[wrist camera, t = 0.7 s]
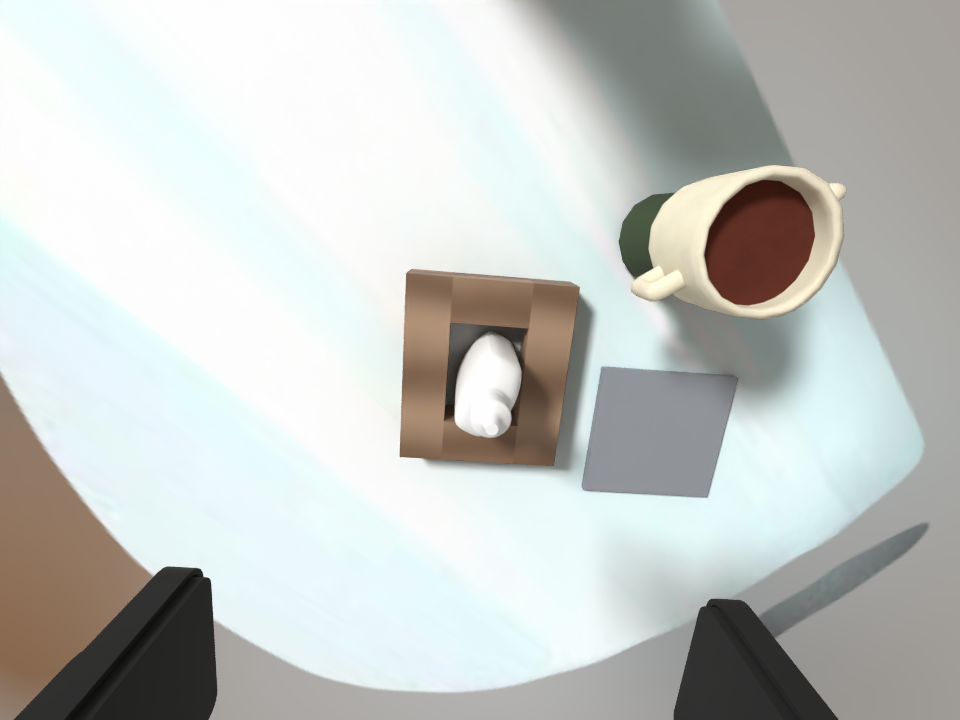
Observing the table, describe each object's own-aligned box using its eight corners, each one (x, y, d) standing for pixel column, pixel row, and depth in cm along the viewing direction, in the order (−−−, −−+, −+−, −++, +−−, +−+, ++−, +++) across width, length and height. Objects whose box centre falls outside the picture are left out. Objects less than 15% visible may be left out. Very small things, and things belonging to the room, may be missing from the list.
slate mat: (601, 366, 36) (603, 368, 36) (733, 375, 37) (738, 378, 36) (581, 486, 39) (583, 490, 39) (703, 493, 40) (707, 497, 39)
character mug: (611, 315, 35) (692, 365, 22) (570, 233, 33) (633, 238, 21) (742, 243, 34) (904, 253, 21) (707, 153, 32) (862, 106, 19)
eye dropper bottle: (438, 359, 36) (426, 423, 24) (499, 323, 35) (516, 371, 23) (468, 403, 37) (469, 484, 25) (527, 368, 36) (556, 435, 24)
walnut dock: (411, 269, 33) (406, 273, 31) (570, 281, 34) (579, 287, 31) (404, 439, 37) (399, 456, 35) (546, 447, 38) (553, 465, 35)
